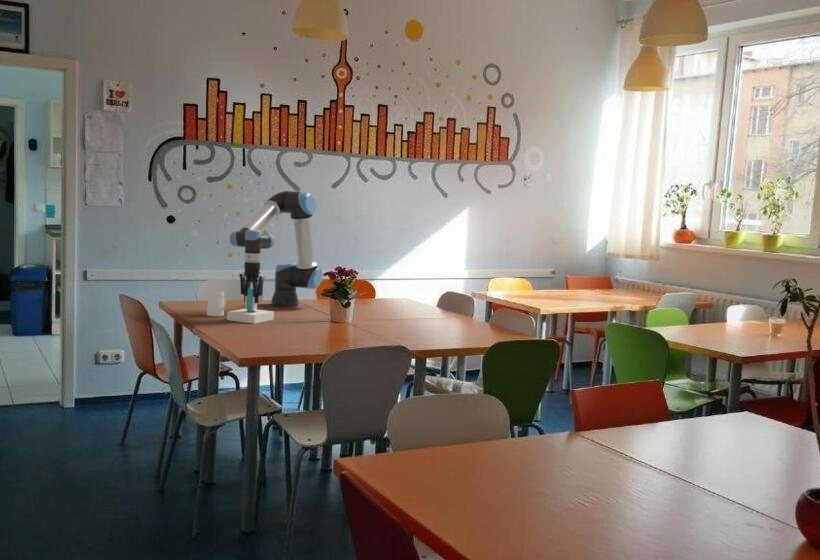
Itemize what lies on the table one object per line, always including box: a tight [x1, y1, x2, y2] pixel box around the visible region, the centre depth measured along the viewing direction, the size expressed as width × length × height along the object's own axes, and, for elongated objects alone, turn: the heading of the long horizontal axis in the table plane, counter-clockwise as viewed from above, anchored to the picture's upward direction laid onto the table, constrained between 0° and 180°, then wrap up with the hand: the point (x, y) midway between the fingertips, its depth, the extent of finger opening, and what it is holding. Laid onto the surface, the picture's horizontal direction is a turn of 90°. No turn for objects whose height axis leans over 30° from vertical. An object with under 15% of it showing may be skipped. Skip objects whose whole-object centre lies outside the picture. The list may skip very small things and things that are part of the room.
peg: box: [247, 287, 255, 313], centre depth 394 cm, size 4×4×14 cm
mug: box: [206, 289, 227, 317], centre depth 403 cm, size 12×8×12 cm
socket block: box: [226, 308, 275, 324], centre depth 395 cm, size 16×16×4 cm
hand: (250, 309), depth 395 cm, fingers closed on peg, 3 cm apart
